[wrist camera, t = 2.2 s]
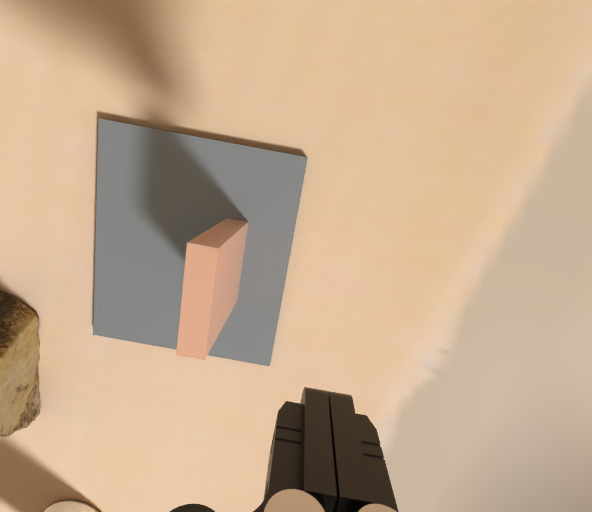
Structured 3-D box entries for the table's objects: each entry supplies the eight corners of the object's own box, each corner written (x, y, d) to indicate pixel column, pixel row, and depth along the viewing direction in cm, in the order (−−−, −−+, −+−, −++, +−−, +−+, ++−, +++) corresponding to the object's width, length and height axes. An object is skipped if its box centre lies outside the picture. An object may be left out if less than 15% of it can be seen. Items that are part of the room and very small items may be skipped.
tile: (225, 217, 23) (183, 241, 16) (248, 222, 23) (218, 248, 16) (215, 296, 25) (173, 354, 17) (237, 300, 25) (204, 359, 17)
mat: (103, 119, 22) (98, 118, 22) (307, 157, 23) (307, 157, 22) (97, 330, 27) (93, 334, 26) (270, 361, 27) (269, 366, 26)
